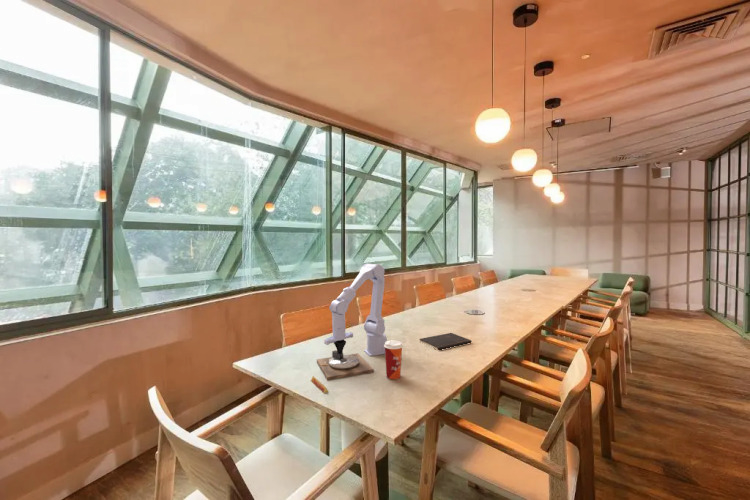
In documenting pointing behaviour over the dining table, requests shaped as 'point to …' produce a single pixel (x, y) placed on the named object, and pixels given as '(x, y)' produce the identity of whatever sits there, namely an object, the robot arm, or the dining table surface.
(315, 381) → the chocolate bar
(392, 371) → the paper cup
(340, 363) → the dial
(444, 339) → the black spiral notebook
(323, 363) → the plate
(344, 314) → the robot arm
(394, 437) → the dining table surface
